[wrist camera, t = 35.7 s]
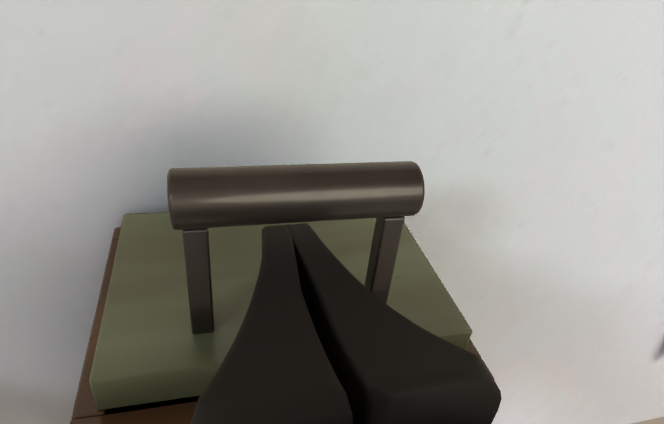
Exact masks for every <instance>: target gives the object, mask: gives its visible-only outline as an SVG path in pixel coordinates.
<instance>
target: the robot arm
mask: <svg viewBox="0 0 664 424" xmlns="http://www.w3.org/2000/svg"><path fill="white" fill-rule="evenodd" d="M500 402H501V393H500V390H499V388H498V386H497V385H496V383H495V381H494V380H493V378H492V376H491V375H490V373H489V371H488V370H487V368H486V367H485V366H484V364H483V363H482V362H481V360H480V359H479V357H478V356H477V355H476V354H473V353H471V352H469V351H467V350H465V349H463V348H460V347H458V346H456V345H454V344H452V343H450V342H447V341H445V340H443V339H441V338H440V337H438V336H436V335H434V334H432V333H430V332H429V331H427V330H425V329H423V328H422V327H420V326H418V325H417V324H415V323H413V322H412V321H410V320H409V319H407V318H406V317H404V316H403V315H401V314H400V313H398V312H397V311H395V310H394V309H392V308H391V307H389V306H388V305H387V304H385V303H384V302H383V301H382V300H380V299H379V298H378V297H377V296H375V295H374V294H373V293H372V292H371V291H369V290H368V289H367V288H366V287H365V286H364V285H363V284H362V283H361V282H360V281H359V280H358V279H356V278H355V277H354V276H353V275H352V274H351V273H350V272H349V271H348V270H347V269H346V268H345V266H344V265H343V264H342V263H341V262H340V261H339V260H338V259H337V258H336V257H335V256H334V255H333V253H332V252H331V251H330V250H329V249H328V248H327V246H326V245H325V244H324V243H323V242H322V240H321V239H320V238H319V237H318V235H317V234H316V233H315V231H314V230H313V229H312V228H311V226H310V225H309V224H308V223H301V224H287V225H274V226H265V227H264V228H263V229H262V260H261V265H260V270H259V275H258V279H257V282H256V286H255V289H254V293H253V296H252V299H251V302H250V305H249V308H248V310H247V313H246V315H245V318H244V320H243V322H242V325H241V327H240V329H239V331H238V333H237V336H236V338H235V340H234V342H233V344H232V346H231V348H230V349H229V351H228V353H227V355H226V356H225V358H224V360H223V362H222V363H221V365H220V367H219V369H218V370H217V372H216V374H215V375H214V377H213V378H212V380H211V381H210V382H209V384H208V385H207V387H206V388H205V390H204V391H203V393H202V394H201V396H200V397H199V399H198V402H197V405H196V408H195V411H194V413H193V416H192V419H191V422H190V424H491V423H492V421H493V419H494V417H495V415H496V413H497V411H498V408H499V405H500Z"/></svg>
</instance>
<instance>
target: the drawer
mask: <svg viewBox="0 0 664 424" xmlns="http://www.w3.org/2000/svg"><path fill="white" fill-rule="evenodd" d="M167 195H168V210H169V212H163V213H144V214H125V215H124V217H123V222H122V227H121V231H120V236H119V241H118V246H117V250H116V255H115V260H114V265H113V270H112V274H111V279H110V284H109V289H108V293H107V298H106V303H105V308H104V313H103V317H102V322H101V327H100V332H99V336H98V341H97V346H96V351H95V356H94V360H93V365H92V370H91V375H90V379H89V382H90V386H91V389H92V393H93V396H94V399H95V403H96V406H97V409H98V410H105V409H112V408H119V407H126V406H132V405H137V410H140V409H147V408H154V407H160V406H167V405H174V404H181V403H187V402H194V401H198V399H199V397H200V396H201V394H202V393H203V391H204V390H205V388H206V387H207V385H208V384H209V382H210V381H211V380H212V378H213V377H214V375H215V374H216V372H217V370H218V369H219V367H220V365H221V363H222V362H223V360H224V358H225V356H226V355H227V353H228V351H229V349H230V348H231V346H232V344H233V342H234V340H235V338H236V336H237V333H238V331H239V329H240V327H241V325H242V322H243V320H244V318H245V315H246V313H247V310H248V308H249V305H250V302H251V299H252V296H253V293H254V289H255V286H256V282H257V279H258V275H259V270H260V265H261V260H262V229H263V228H264V227H265V226H274V225H287V224H301V223H308V224H309V225H310V226H311V228H312V229H313V230H314V231H315V233H316V234H317V235H318V237H319V238H320V239H321V240H322V242H323V243H324V244H325V245H326V246H327V248H328V249H329V250H330V251H331V252H332V253H333V255H334V256H335V257H336V258H337V259H338V260H339V261H340V262H341V263H342V264H343V265H344V266H345V268H346V269H347V270H348V271H349V272H350V273H351V274H352V275H353V276H354V277H355V278H356V279H358V280H359V281H360V282H361V283H362V284H363V285H364V286H365V287H366V288H367V289H368V290H369V291H371V292H372V293H373V294H374V295H375V296H377V297H378V298H379V299H380V300H382V301H383V302H384V303H385V304H387V305H388V306H389V307H391V308H392V309H394V310H395V311H397V312H398V313H400V314H401V315H403V316H404V317H406V318H407V319H409V320H410V321H412V322H413V323H415V324H417V325H418V326H420V327H422V328H423V329H425V330H427V331H429V332H430V333H432V334H434V335H436V336H438V337H440V338H441V339H443V340H445V341H447V342H450V343H452V344H454V345H456V346H458V347H460V348H463V349H465V350H466V348H467V345H468V342H469V339H470V337H471V334H472V330H471V328H470V326H469V325H468V323H467V322H466V320H465V318H464V317H463V315H462V314H461V312H460V311H459V309H458V307H457V306H456V304H455V303H454V301H453V299H452V298H451V296H450V295H449V293H448V291H447V290H446V288H445V287H444V285H443V284H442V282H441V280H440V279H439V277H438V276H437V274H436V272H435V271H434V269H433V268H432V266H431V265H430V263H429V261H428V260H427V258H426V257H425V255H424V253H423V252H422V250H421V249H420V247H419V245H418V244H417V242H416V241H415V239H414V238H413V236H412V234H411V233H410V231H409V230H408V228H407V226H406V225H405V223H404V219H405V218H404V216H413V215H415V214H417V213H418V212H419V211H420V209H421V207H422V205H423V200H424V180H423V175H422V172H421V170H420V168H419V166H418V165H417V164H416V163H414V162H412V161H404V162H371V163H337V164H304V165H271V166H238V167H205V168H172V169H170V170H169V172H168V176H167Z"/></svg>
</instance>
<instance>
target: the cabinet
mask: <svg viewBox="0 0 664 424" xmlns="http://www.w3.org/2000/svg"><path fill="white" fill-rule="evenodd" d="M120 231H121V228H115V229H114V233H113V238H112V242H111V247H110V251H109V256H108V260H107V264H106V269H105V273H104V278H103V282H102V286H101V291H100V295H99V299H98V304H97V308H96V313H95V317H94V321H93V326H92V330H91V335H90V339H89V343H88V348H87V352H86V356H85V361H84V365H83V370H82V374H81V378H80V383H79V387H78V392H77V396H76V400H75V405H74V409H73V413H72V420H71V422H70V424H190V422H191V419H192V416H193V413H194V411H195V408H196V405H197V402H198V401H194V402H187V403H181V404H174V405H167V406H160V407H154V408H147V409H140V410H137V405H132V406H126V407H119V408H112V409H105V410H98V409H97V406H96V403H95V399H94V396H93V393H92V389H91V386H90V382H89V379H90V375H91V370H92V365H93V360H94V356H95V351H96V346H97V341H98V336H99V332H100V327H101V322H102V317H103V313H104V308H105V303H106V298H107V293H108V289H109V284H110V279H111V274H112V270H113V265H114V260H115V255H116V250H117V246H118V241H119V236H120ZM466 350H467V351H469V352H471V353H473V354H476V355H477V356H478V357H479V359H480V360H481V362H482V363H483V364H484V366H485V367H486V368H487V366H486V365H485V363H484V361H483V360H482V359H481V356H480V355H479V353H478V351H477V350H476V348H475V346H474V345H473V343H472V341H471V340H470V339H469V342H468V345H467V348H466ZM487 370H488V371H489V369H488V368H487ZM489 373H490V371H489ZM490 375H491V376H492V374H491V373H490ZM492 378H493V376H492ZM493 380H494V378H493Z"/></svg>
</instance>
